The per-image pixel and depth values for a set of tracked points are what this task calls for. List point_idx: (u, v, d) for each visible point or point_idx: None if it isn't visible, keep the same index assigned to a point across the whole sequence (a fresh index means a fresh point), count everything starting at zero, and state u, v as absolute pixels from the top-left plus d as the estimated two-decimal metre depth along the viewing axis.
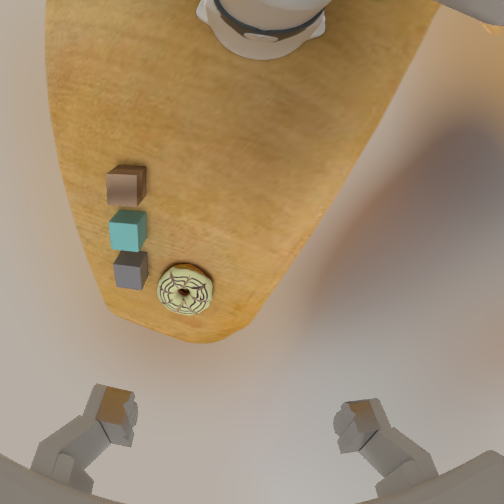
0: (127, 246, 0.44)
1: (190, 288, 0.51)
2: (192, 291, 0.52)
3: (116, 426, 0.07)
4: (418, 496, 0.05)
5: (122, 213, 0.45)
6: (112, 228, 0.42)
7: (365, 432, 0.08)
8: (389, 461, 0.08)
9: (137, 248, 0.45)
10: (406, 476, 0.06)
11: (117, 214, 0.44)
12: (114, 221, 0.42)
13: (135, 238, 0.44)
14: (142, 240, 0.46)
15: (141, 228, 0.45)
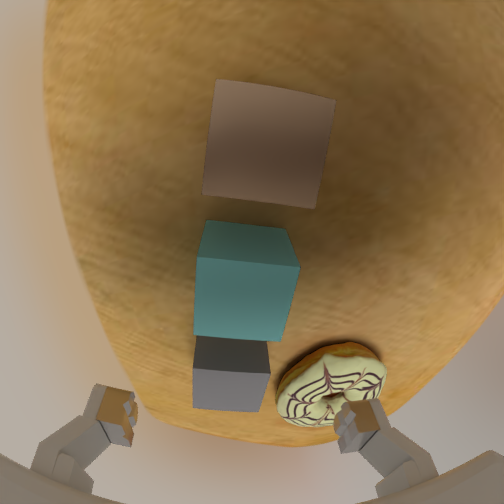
0: (251, 328, 0.16)
1: (356, 390, 0.22)
2: (355, 393, 0.23)
3: (116, 426, 0.07)
4: (418, 496, 0.05)
5: (223, 230, 0.17)
6: (209, 277, 0.14)
7: (365, 432, 0.08)
8: (389, 461, 0.08)
9: (280, 332, 0.16)
10: (406, 476, 0.06)
11: (209, 232, 0.16)
12: (216, 256, 0.14)
13: (282, 308, 0.15)
14: None
15: None
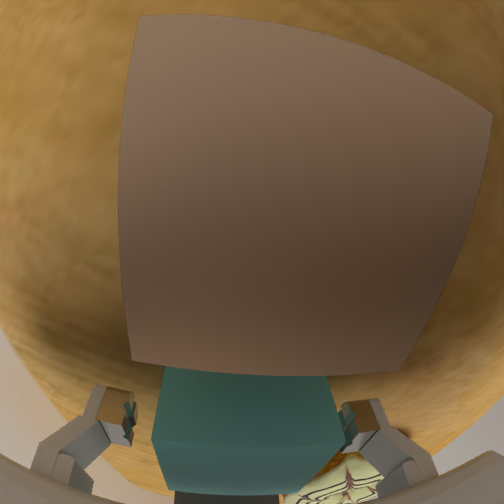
0: (254, 489, 0.08)
1: None
2: None
3: (116, 426, 0.07)
4: (418, 496, 0.05)
5: None
6: (180, 457, 0.06)
7: (365, 432, 0.08)
8: (389, 461, 0.08)
9: (297, 488, 0.08)
10: (406, 476, 0.06)
11: None
12: (189, 435, 0.06)
13: (305, 475, 0.07)
14: None
15: None
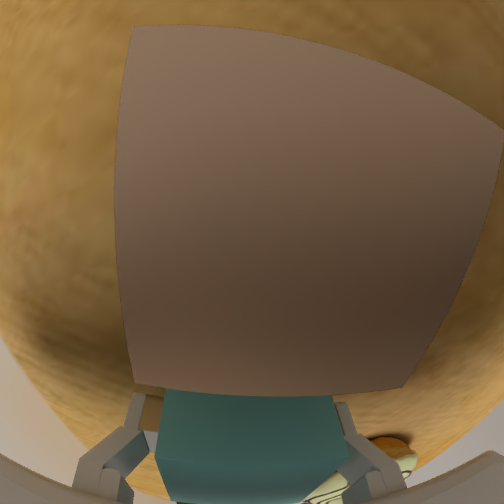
0: (257, 501, 0.07)
1: None
2: None
3: None
4: (418, 496, 0.05)
5: None
6: (184, 473, 0.06)
7: None
8: (355, 469, 0.07)
9: (300, 498, 0.08)
10: (369, 487, 0.06)
11: None
12: (192, 453, 0.06)
13: (308, 487, 0.07)
14: None
15: None
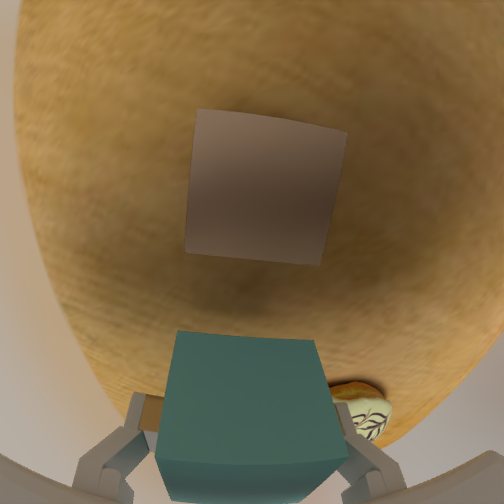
0: (257, 500, 0.07)
1: (360, 429, 0.19)
2: (359, 432, 0.20)
3: None
4: (418, 496, 0.05)
5: (206, 363, 0.09)
6: (183, 473, 0.06)
7: None
8: (355, 469, 0.07)
9: (300, 498, 0.08)
10: (369, 487, 0.06)
11: (181, 372, 0.08)
12: (192, 453, 0.06)
13: (308, 487, 0.07)
14: None
15: None
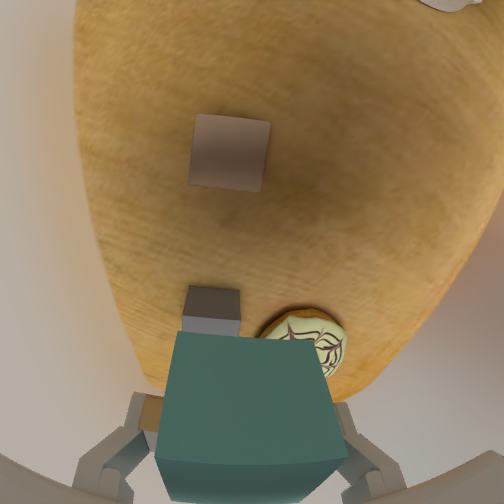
0: (256, 500, 0.07)
1: (318, 349, 0.29)
2: (319, 353, 0.29)
3: None
4: (418, 496, 0.05)
5: (206, 363, 0.09)
6: (183, 473, 0.06)
7: None
8: (355, 469, 0.07)
9: (299, 498, 0.08)
10: (369, 487, 0.06)
11: (181, 373, 0.08)
12: (191, 453, 0.06)
13: (307, 487, 0.07)
14: None
15: None
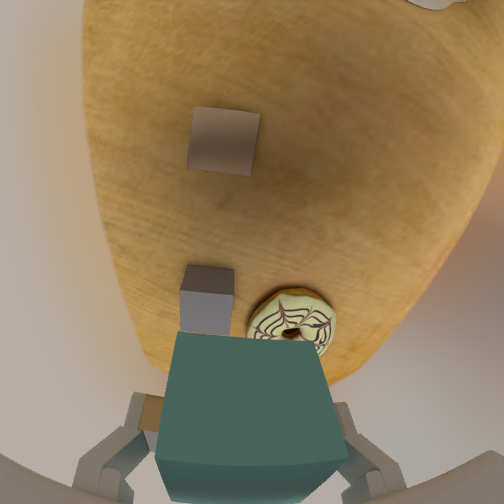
0: (256, 501, 0.07)
1: (308, 327, 0.31)
2: (309, 331, 0.32)
3: None
4: (418, 496, 0.05)
5: (206, 364, 0.09)
6: (183, 474, 0.06)
7: None
8: (355, 469, 0.07)
9: (300, 499, 0.08)
10: (369, 487, 0.06)
11: (181, 373, 0.08)
12: (192, 454, 0.06)
13: (307, 487, 0.07)
14: None
15: None
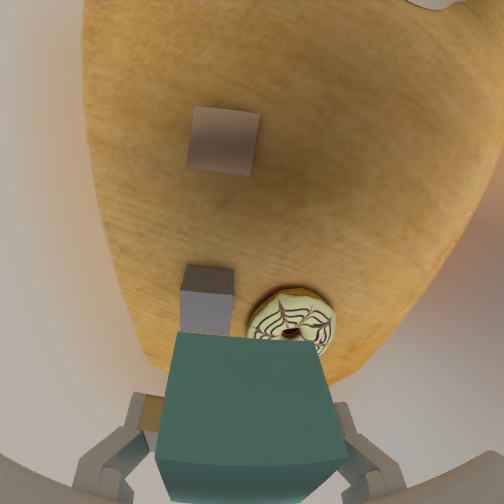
0: (257, 501, 0.07)
1: (308, 327, 0.31)
2: (309, 331, 0.32)
3: None
4: (418, 496, 0.05)
5: (206, 364, 0.09)
6: (183, 474, 0.06)
7: None
8: (355, 469, 0.07)
9: (300, 499, 0.08)
10: (369, 487, 0.06)
11: (181, 373, 0.08)
12: (192, 454, 0.06)
13: (308, 487, 0.07)
14: None
15: None
